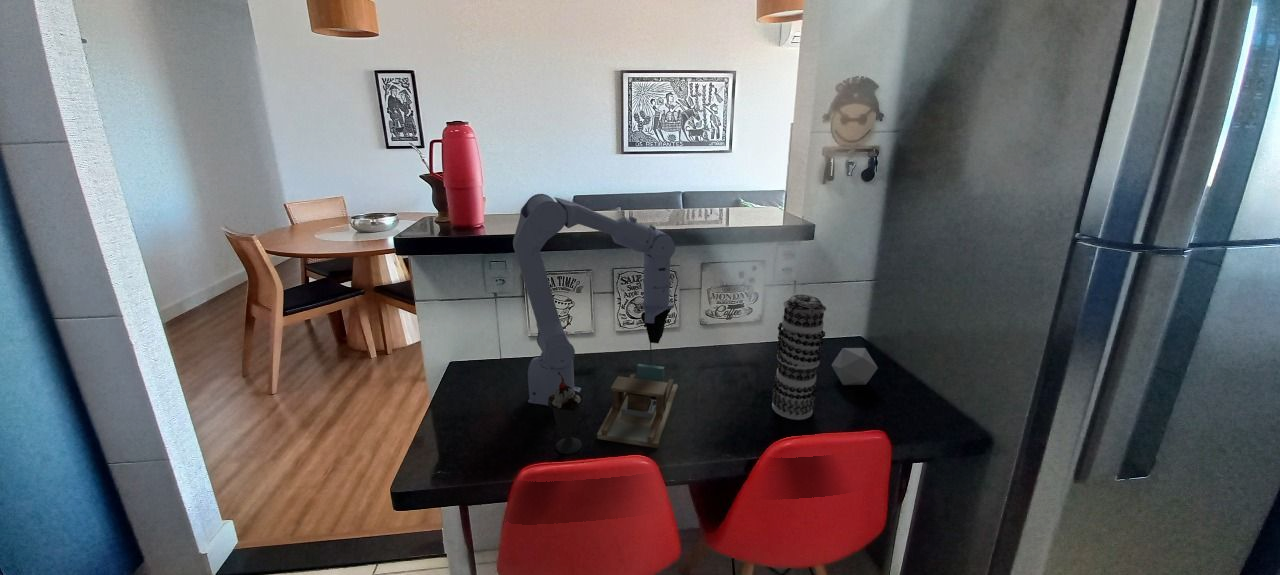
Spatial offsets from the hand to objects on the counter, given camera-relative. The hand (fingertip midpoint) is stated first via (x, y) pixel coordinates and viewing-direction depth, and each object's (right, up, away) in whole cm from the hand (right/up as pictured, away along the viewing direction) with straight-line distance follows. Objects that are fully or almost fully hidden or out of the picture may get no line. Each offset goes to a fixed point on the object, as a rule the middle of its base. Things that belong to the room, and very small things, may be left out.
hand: (655, 339), depth 116 cm
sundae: (-17, -18, -21) cm, 32 cm away
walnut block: (-4, -13, -11) cm, 18 cm away
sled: (-3, -12, -7) cm, 14 cm away
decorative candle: (+29, -14, -9) cm, 33 cm away
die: (+46, -10, +2) cm, 47 cm away
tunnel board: (-3, -14, -10) cm, 18 cm away
